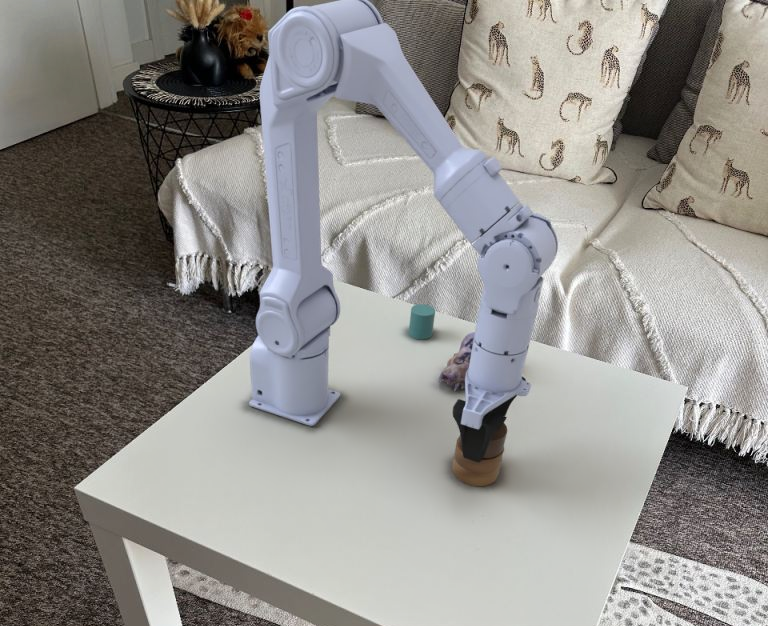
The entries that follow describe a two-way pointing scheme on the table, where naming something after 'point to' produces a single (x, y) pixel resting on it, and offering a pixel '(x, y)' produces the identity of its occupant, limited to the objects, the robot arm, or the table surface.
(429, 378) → the table surface
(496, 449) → the walnut chip
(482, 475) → the bottom chip
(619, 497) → the table surface
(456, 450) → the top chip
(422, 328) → the teal cylinder peg
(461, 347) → the skull
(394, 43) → the robot arm
